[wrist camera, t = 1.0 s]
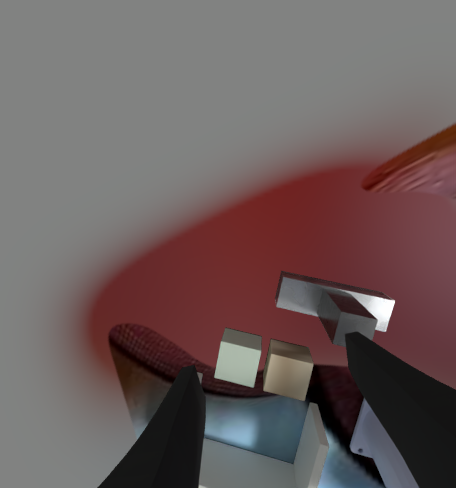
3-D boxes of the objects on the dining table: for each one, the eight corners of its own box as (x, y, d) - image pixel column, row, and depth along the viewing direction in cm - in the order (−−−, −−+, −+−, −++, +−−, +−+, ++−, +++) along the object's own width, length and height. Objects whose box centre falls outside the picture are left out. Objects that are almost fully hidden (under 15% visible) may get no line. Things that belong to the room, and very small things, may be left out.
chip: (308, 347, 27) (313, 364, 24) (300, 380, 27) (304, 401, 24) (270, 338, 27) (271, 353, 24) (263, 371, 28) (263, 390, 25)
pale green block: (261, 335, 27) (261, 351, 24) (254, 369, 28) (253, 387, 25) (225, 327, 28) (221, 341, 25) (219, 360, 28) (214, 377, 25)
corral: (317, 404, 27) (329, 446, 22) (298, 472, 29) (306, 526, 24) (196, 371, 29) (182, 405, 24) (184, 437, 30) (168, 482, 25)
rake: (381, 292, 25) (436, 329, 17) (373, 320, 26) (423, 368, 18) (281, 270, 26) (289, 296, 18) (275, 297, 27) (280, 334, 19)
